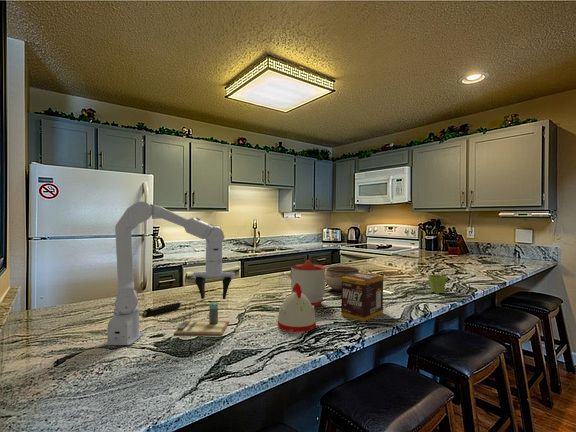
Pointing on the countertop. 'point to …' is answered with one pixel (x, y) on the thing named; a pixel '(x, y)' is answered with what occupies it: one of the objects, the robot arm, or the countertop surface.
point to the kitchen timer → (296, 312)
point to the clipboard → (201, 328)
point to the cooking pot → (338, 275)
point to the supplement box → (362, 296)
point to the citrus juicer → (309, 281)
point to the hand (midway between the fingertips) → (213, 298)
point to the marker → (213, 313)
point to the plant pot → (437, 283)
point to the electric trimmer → (161, 309)
